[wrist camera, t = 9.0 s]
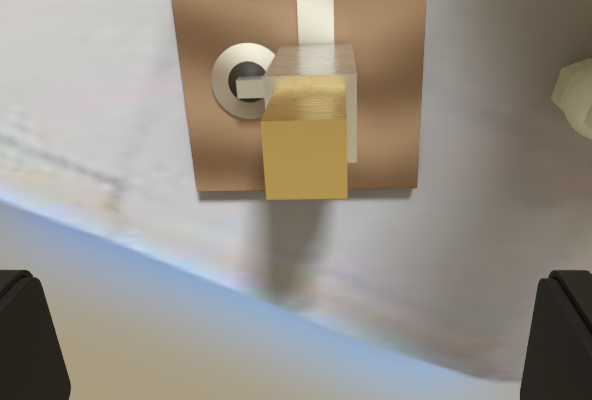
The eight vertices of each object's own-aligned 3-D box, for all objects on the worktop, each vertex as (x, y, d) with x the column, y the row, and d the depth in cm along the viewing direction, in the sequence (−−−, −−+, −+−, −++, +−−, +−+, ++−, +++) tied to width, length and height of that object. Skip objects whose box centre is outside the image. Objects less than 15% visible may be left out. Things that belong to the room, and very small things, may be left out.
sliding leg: (238, 47, 31) (176, 109, 19) (352, 43, 30) (361, 104, 19) (244, 116, 33) (191, 212, 21) (352, 113, 32) (361, 210, 20)
